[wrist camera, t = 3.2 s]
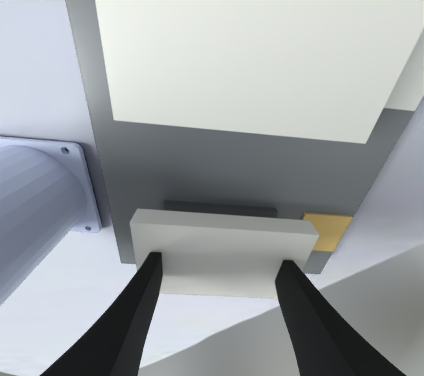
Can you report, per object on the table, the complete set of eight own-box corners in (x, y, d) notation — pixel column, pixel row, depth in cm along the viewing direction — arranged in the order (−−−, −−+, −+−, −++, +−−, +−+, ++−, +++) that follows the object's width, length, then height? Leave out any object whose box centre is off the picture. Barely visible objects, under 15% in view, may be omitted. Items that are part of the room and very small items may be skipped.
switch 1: (126, 114, 8) (113, 120, 7) (98, -114, 5) (70, -160, 4) (347, 135, 9) (365, 143, 8) (434, -60, 6) (482, -91, 5)
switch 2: (145, 276, 14) (140, 292, 13) (137, 208, 11) (129, 222, 10) (281, 283, 14) (287, 299, 13) (309, 220, 11) (319, 235, 10)
